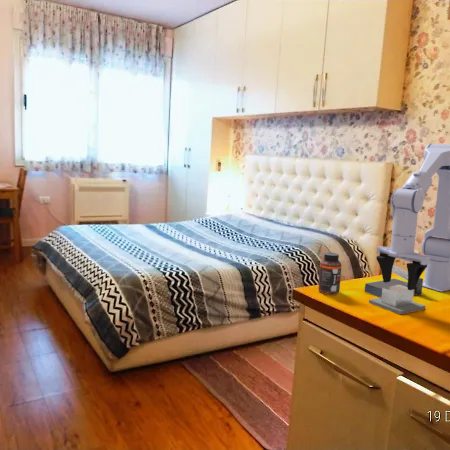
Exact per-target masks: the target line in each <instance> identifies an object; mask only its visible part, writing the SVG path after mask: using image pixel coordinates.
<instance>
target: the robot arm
mask: <svg viewBox="0 0 450 450" xmlns="http://www.w3.org/2000/svg"><path fill="white" fill-rule="evenodd" d="M435 174H436V175H438V181H437V183H438V184H437V190H436V202H435V210H434V221H433V227H432V228H429V229H428V230H426V231H425V233H424V236H423V240H422V242H421V253H422V254H420V253H418V252H415V245H416V234H417V226H418V216H419V215H418V214H419V212H420V211H421V210H422V208H423V205H424V201H425V198H426V197H425V195H426V194H427V192H428V191H429V189H430V188H431V186H432V185H433V177H434V175H435ZM390 207H391V217H393V218H392V219H393V220H392V231H391V240H390V247H389V246H383V245H379V246H376V254H378V255H377V256H376V261H377V262H378V265H379V268H380V270H381V271H380V272H381V275H382V281H383V282H385V283H386V282H390V280H391V279H392V274H393V273H392V268H393V265H395V264H394V263H395V261H396V259H400V260H404V261H409V262H408V263H406V268H407V271H408V280H407V282H408V290H414V289H415V287H416V285H417V282H418V280H419V278H421V275H422V274H423V273H424V279H423V285H422V288H423V287H424V288H426V289H430V290H433V291H437V292H440V293H441V292H445V291H450V143H445V144H444V143H428V144H427V145H426V146H425V148H424V150H423V162H422V164H421V166H420V168H419V170H416V171H415V170H414V171H413V172H412V173H411V174H410V175H409V177H408V179H407V180H406V181H405V183H404V184H403V186H402V187H401V188H400V187H399V188H397V189H395V190H394V191H393V192H392V194H391V198H390Z"/></svg>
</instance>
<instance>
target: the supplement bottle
mask: <svg viewBox="0 0 450 450" xmlns="http://www.w3.org/2000/svg"><path fill="white" fill-rule="evenodd" d="M339 256H340V255H339V253H335V252H325V253H324V255H323V257H324V259H321V261H320V263H319V264H320V265H319V274H318V275H319V276H318V277H319V278H318V291H319V292H320V293H321V294H324V295H337V294H339V292H340V289H341V288H340V287H341V276H342V263H341V261H340V260H339Z"/></svg>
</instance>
